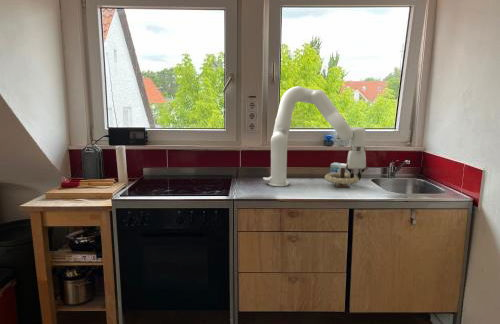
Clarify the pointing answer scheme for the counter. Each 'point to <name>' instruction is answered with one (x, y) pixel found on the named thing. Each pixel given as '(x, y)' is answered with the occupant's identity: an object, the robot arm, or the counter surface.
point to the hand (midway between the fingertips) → (355, 179)
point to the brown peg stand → (342, 173)
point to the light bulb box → (338, 168)
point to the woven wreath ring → (336, 178)
